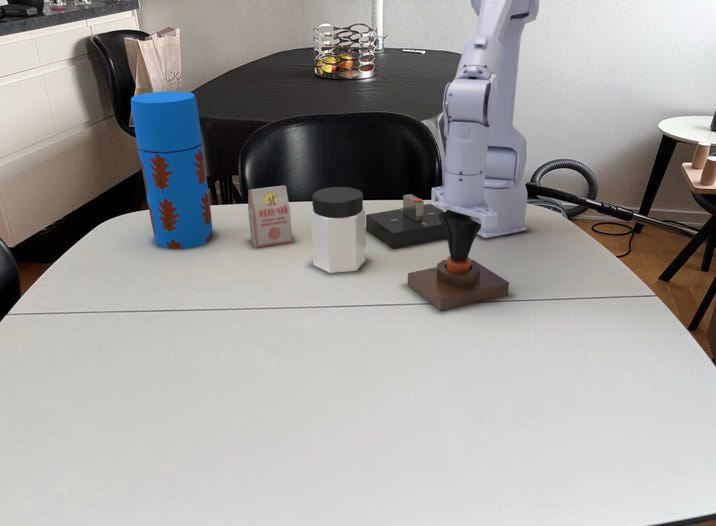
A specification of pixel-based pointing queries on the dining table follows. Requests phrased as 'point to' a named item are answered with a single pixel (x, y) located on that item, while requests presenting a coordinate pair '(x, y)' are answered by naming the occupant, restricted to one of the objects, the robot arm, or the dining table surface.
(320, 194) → the jar
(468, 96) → the robot arm
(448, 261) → the button
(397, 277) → the dining table surface
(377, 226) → the panel
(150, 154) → the thermos
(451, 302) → the button block
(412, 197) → the knob
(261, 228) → the tea bag
